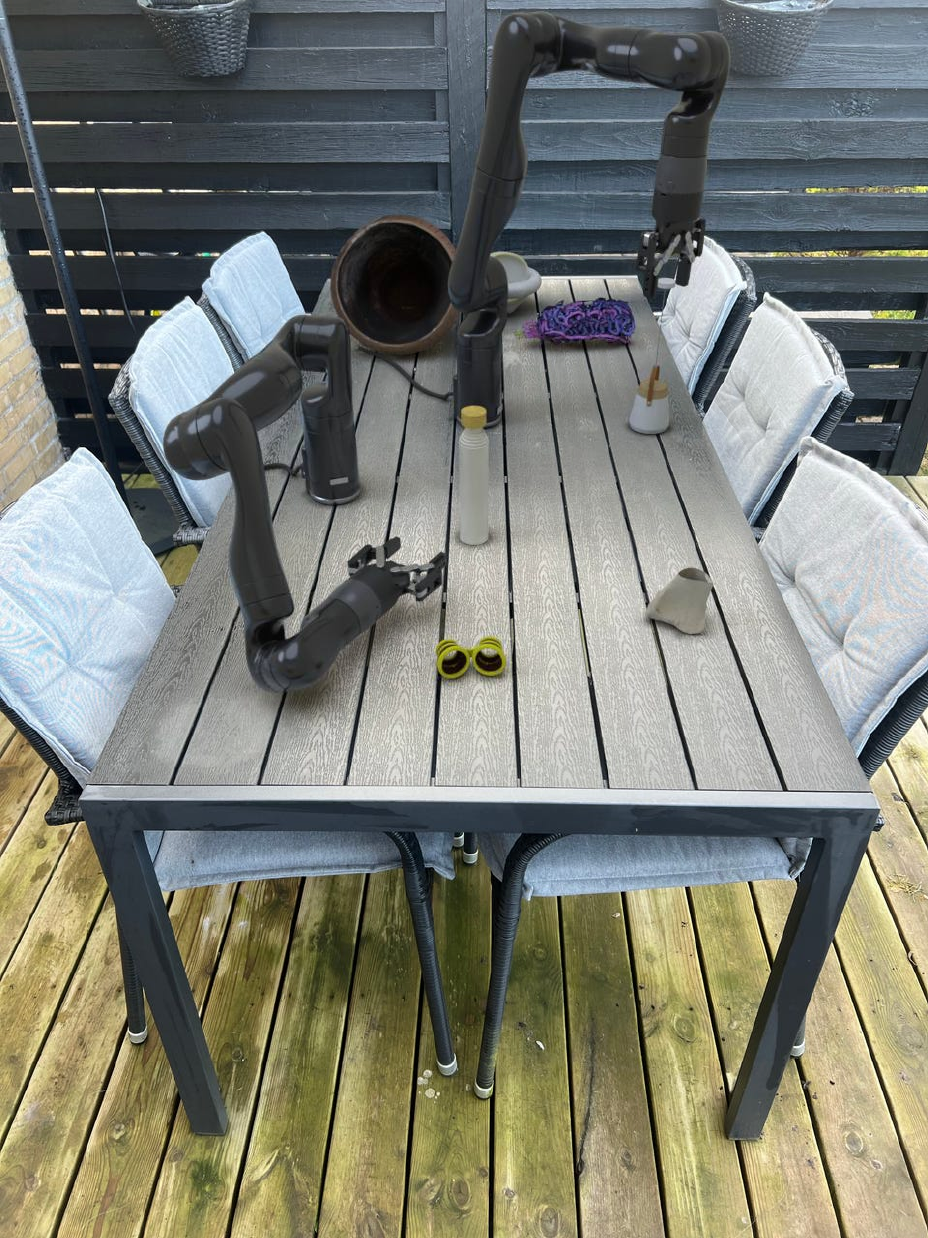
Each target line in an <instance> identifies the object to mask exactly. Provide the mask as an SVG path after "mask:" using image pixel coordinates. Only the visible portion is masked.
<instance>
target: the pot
mask: <svg viewBox="0 0 928 1238" xmlns="http://www.w3.org/2000/svg"><path fill="white" fill-rule="evenodd" d="M456 249H457V248H455V245H454V244H453V243H452V242H451V240H450V239H449V237H448V236H447V235H446V234H445V233H443V231H442V230H441V229H440V228H439V227H437V226H436V225H434V224H433V223H431V222H429V221H427V220H425V219H423V218H420V217H419V216H414V215H411V214H405V213H402V214H401V213H397V214H393V213H392V214H388V215H382V216H379V217H378V218H375V219H373V220H372V221H369V222H367V223H366V224H365V225H364V224H363V226H361V227H360V228H358V230H356V231H355V232H354V233H353V234H352V235H351V236H349V238H348V239H347V240H346V242H345V244H344V245H343V246H342V247H341V249H340V252H339V253H338V255H337V257H336V258H335V260H334V263H333V265H332V267H331V274H330V282H329V283H330V284H329V286H330V287H329V290H330V297H331V301H332V304H333V308H334V310H335V313H336V315H337V317H340V318H342V319H344V320H345V322H346V323H347V325H348V328H349V332H350V337H352V338H353V339H355V340H356V341H357V342H358V343H360V344H361V345H362V346H363V347H364V348H365V347H366V349H369V350H371V351H374V352H376V353H379V354H382V355H390V356H405V355H411V354H417V353H419V352H423V351H426V350H428V349H430V348H432V347H433V346H434V345H436V344H437V343H439V342H440V341H441V340H442V339H443V338H444V337H445V336H446V335H447V334H448V333H449V332H450V330H451V329H452V328H453V327H454V325H455V323H456V321H457V319H458V316H459V314H460V312H459V311H457V310H456V309H455V308H454V307H453V305H452V304H451V302H450V299H449V296H448V290H447V282H448V276H449V272H450V268H451V265H452V262H453V258H454V255H455V252H456Z"/></svg>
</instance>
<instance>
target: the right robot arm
mask: <svg viewBox="0 0 928 1238" xmlns="http://www.w3.org/2000/svg"><path fill="white" fill-rule="evenodd" d="M494 35H495V36H494V40H493V45H492V51H491V59H490V69H489V78H488V88H487V98H486V105H485V111H484V117H483V124H482V129H481V134H480V140H479V144H478V148H477V149H478V150H477V154H476V158H475V162H474V167H473V171H472V178H471V183H470V190H469V196H468V200H467V205H466V209H465V213H464V218H463V223H462V227H461V231H460V236H459V239H458V242H457V246H456V248H455V249H456V252H455V255H454V258H453V262H452V265H451V268H450V272H449V276H448V282H447V290H448V296H449V299H450V302H451V304H452V305H453V307H454V308H455V309H456V310H457V311H459V313H462V314H466V315H465V317H464V318H463V319H462V320H461V322H460V323H459V324H458V325H457V327H456V331H455V333H456V334H455V337H456V338H455V339H456V340H455V341H456V344H455V345H456V374H455V375H454V376H453V377H452V391H449V392H446V393H445V394H440V393H436V392H433V391H431V390H429V389H427V388H425V387H423V386H422V385H420V384H419V383H417V382H416V381H415V380H414V378H413V377H412V376H411V375H410V374H409V373H408V372H407V371H406V370H405V369H404V368H403V367H402V366H401V365H399V364H398V363H397V362H395V361H393V360H392V359H390V358H389V357H387V356H385V355H384V354H382V353H380V352H377V351H374V350H372V349H369V348H365V347H362V346H357V350H358V351H361V352H364V353H367V354H369V355H372V356H374V357H377V358H379V359H381V360H383V361H385V362H387V363H388V364H390V365H391V366H393V367H394V368H396V369H397V370H398V371H399V372H400V373H401V374H402V375H403V376H404V377H405V378H406V379H407V380H408V381H409V382H410V383H411V385H412V386H414V387H415V388H416V389H417V390H419V391H421V392H422V393H424V394H426V395H429V396H430V397H434V398H436V399H442V400H446V399H448V398H449V397H453V398H452V400H453V401H452V403H453V405H452V406H453V419H454V420H456V421H457V422H458V424H460V425H461V426H462V424H461V410H462V409H463V408H465V407H468V406H480V407H483V408H485V409H486V425H485V426H484V427H483V429H487V428H491V427H494V426H497V425H498V424H500V423H501V421H502V410H503V403H502V351H503V350H502V348H503V347H502V345H503V343H502V342H503V333H504V332H505V331H504V330H505V328H506V325H507V316H508V313H507V302H508V279H507V274H506V271H505V268H504V266H503V265H502V263H501V262H500V261H499V260H498V259H497V258H495V257H493V256H490V255H491V253H493V249H494V247H495V244H496V242H497V240H498V239H499V237H500V236H501V234H502V232H503V231H504V230H505V227H506V226H507V224H508V223H509V222H510V219H511V218H512V216H513V214H514V212H515V211H516V209H517V207H518V205H519V203H520V199H521V198H522V197H521V196H522V194H523V193H522V192H523V189H524V184H525V180H526V176H527V171H528V165H529V154H528V150H527V145H526V141H525V137H524V132H523V127H522V108H523V102H524V98H525V94H526V90H527V86H528V84H529V80H530V79H531V80H532V79H537V78H544V77H546V76H549V75H553V74H559V73H565V72H572V71H573V72H574V71H581V72H589V73H592V74H595V75H597V76H600V77H601V78H605V79H608V80H612V81H618V82H625V83H633V84H640V85H641V84H643V85H647V84H648V85H649V86H652V87H656V88H659V89H662V90H665V91H671V92H681V95H680V98H679V101H678V103H677V104H676V105H675V106H674V107H673V108H672V109H670V110H669V111H668V112H667V113H666V114H665V117H664V121H663V125H662V126H663V127H662V135H661V142H660V152H659V157H658V161H657V166H656V171H655V179H654V187H653V188H654V189H653V195H652V196H653V197H652V206H651V216H652V217H653V219H654V220H655V226H654V228H653V231H645V230H643V231H641V233H640V236H639V242H638V249H637V255H636V262H635V263H636V264H635V271H637V272H640V273H643V285H642V295H643V297H644V298H647V299H650V300H652V299H655V298H656V297H657V296H658V295H657V293H658V288H659V287H658V279H660V271H661V270H662V267H663V265H664V264H667V263H668V262H669V259H670V257H673V256H674V255H675V254H676V255H677V257H678V261H677V265H676V273H675V279H674V280H675V283H676V285H677V286H679V287H683V288H684V287H687V286H689V284H690V279H691V271H692V266H693V264H694V263H695V261H696V258H697V257H698V258H700V257H702V255H703V250H704V241H705V233H706V226H707V219H706V218H703V217H701V214H702V213H701V212H702V206H703V199H704V192H705V185H706V180H707V179H706V178H707V172H708V152H709V146H710V140H711V139H710V138H711V132H712V124H713V122H714V121H713V120H714V118H715V115H716V112H717V111H718V108H719V105H720V103H721V100H722V96H723V94H724V90H725V88H726V84H727V82H728V78H729V74H730V69H731V68H730V67H731V50H730V46H729V42H728V41H727V39H726V38H725V36H724V35H723V34H722V33H720V32H719V31H716V30H705V31H698V32H690V33H672V34H671V33H665V32H663V31H661V30H658V29H655V28H645V27H632V26H601V25H600V26H598V25H590V24H585V23H581V22H578V21H574V20H571V19H568V18H565V17H562V16H560V15H556V14H554V13H550V12H548V11H543V10H537V11H536V10H535V11H521V12H513V13H511V14H508V15H507V16H505V17H504V18H503V19H502V20H501V22H500V23H499V25H498V27H497V30H496V32H495V34H494ZM694 242H696V246H694ZM657 252H658V253H657ZM645 259H646V260H645ZM644 261H645V262H644ZM655 261H656V262H655ZM654 262H655V265H654Z"/></svg>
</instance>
